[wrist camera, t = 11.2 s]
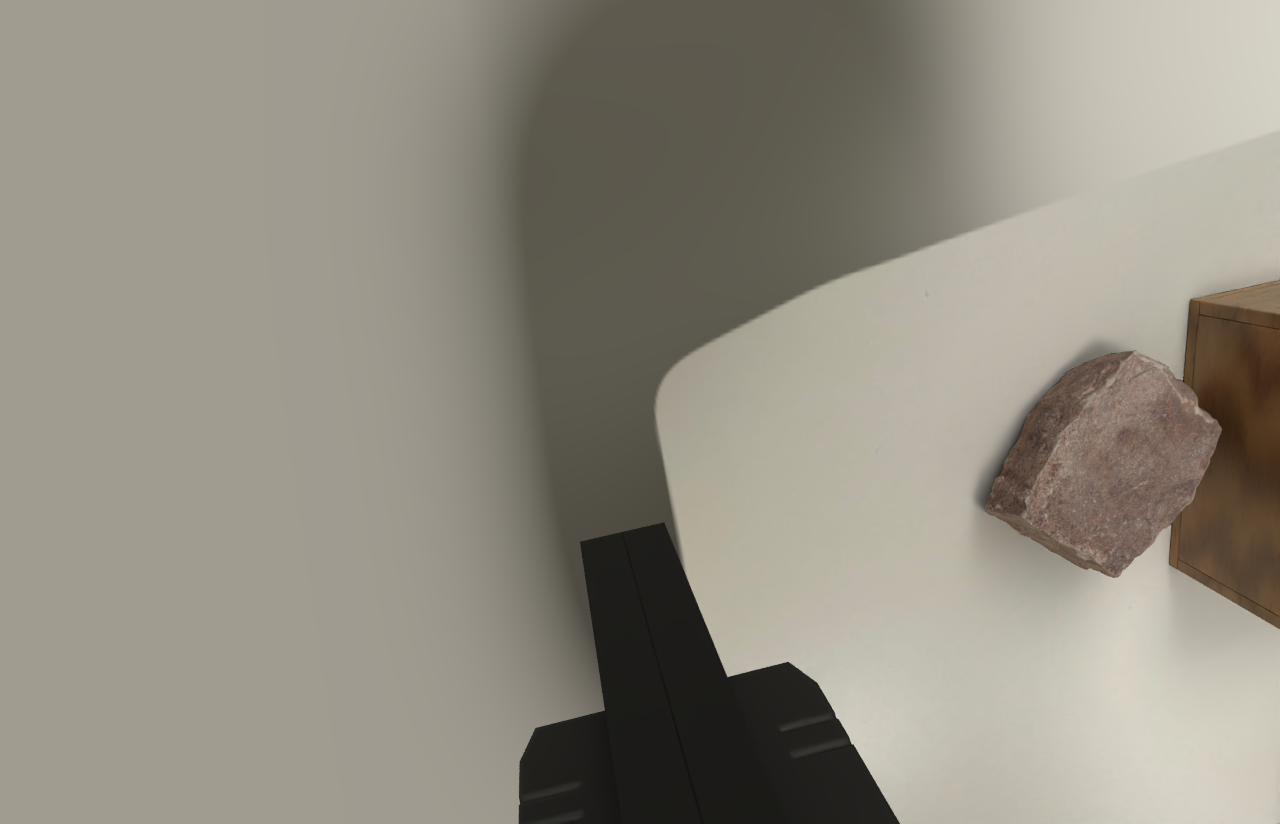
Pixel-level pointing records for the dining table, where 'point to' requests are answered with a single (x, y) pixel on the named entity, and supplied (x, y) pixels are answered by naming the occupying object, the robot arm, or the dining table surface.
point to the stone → (1106, 461)
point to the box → (1236, 450)
